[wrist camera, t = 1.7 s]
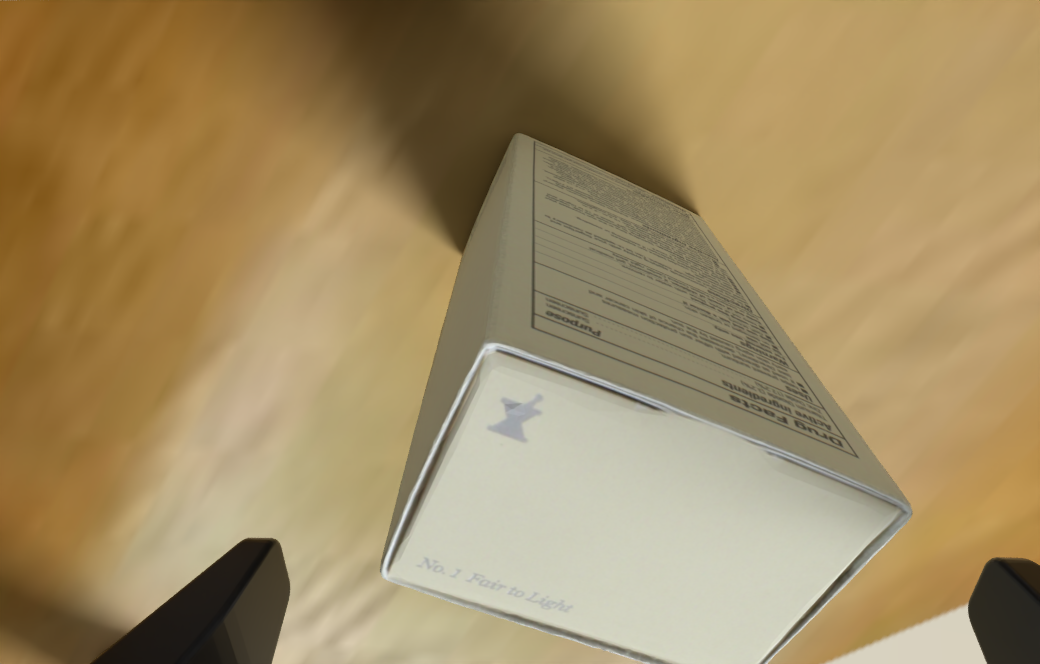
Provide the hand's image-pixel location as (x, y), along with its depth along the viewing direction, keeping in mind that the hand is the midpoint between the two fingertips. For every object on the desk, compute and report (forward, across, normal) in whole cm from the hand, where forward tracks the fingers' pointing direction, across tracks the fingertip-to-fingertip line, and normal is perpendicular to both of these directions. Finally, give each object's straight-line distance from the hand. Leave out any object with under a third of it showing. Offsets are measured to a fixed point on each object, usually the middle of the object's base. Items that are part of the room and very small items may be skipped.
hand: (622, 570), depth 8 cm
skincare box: (+13, 0, 0) cm, 13 cm away
